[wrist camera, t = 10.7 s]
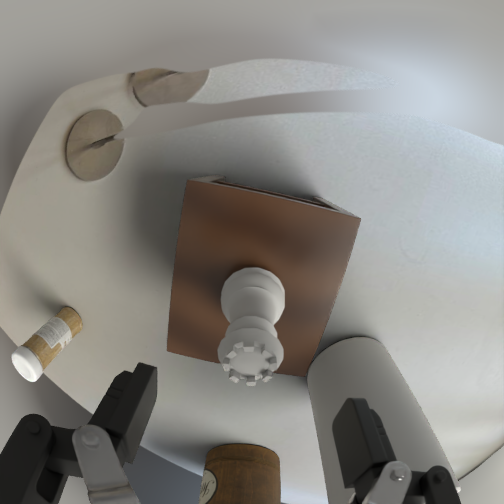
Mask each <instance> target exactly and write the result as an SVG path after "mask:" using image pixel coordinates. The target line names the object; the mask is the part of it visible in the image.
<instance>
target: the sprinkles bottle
mask: <svg viewBox="0 0 504 504" xmlns="http://www.w3.org/2000/svg"><path fill="white" fill-rule="evenodd" d="M81 329H82V321H81V318H80V317H79V315H78V314H77V313H76V312H75V311H74V310H73V309H71V308H69V307H64V308H62V309H61V311H60V312H59V313H58V314H57V315H56V316H55V317H53V318H51V319H50V320H49V321H48V322H47V323H46V324H45V325H43V326H42V327H41V328H40V329H39V330H38V331H37V332H36V333H34V334H33V335H32V337H31V338H30V339H29V340H28V341H27V342H25V343H24V344H23V345H21V346H19V347H18V348H17V349H16V350H15V351H14V352H13V353H12V362H13V364H14V366H15V368H16V369H17V371H18V372H19V373H20V374H21V375H22V376H23V377H24V378H25V379H27V380H28V381H31V382H35V381H36V380H37V379H38V378H39V377H40V376H41V375H42V373H43V370H44V369H45V368H46V367H47V366H48V364H49V363H50V362H51V361H52V360H53V359H54V358H55V357H56V356H57V355H58V354H59V353H60V352H61V351H62V350H63V349H64V347H65V346H66V345H67V344H68V343H69V342H70V341H71V339H72V338H73V337H74V336H75V335H76V334H77V333H79V332H80V331H81Z"/></svg>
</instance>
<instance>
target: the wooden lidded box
mask: <svg viewBox="0 0 504 504" xmlns="http://www.w3.org/2000/svg"><path fill="white" fill-rule="evenodd" d="M360 221H361V218H359V217H357V216H355V215H353V214H352V213H350V212H348V211H346V210H344V209H342V208H340V207H338V206H336V205H334V204H332V203H331V202H329V201H327V200H325V199H322V198H319V197H315V196H313V199H312V201H310V200H306V199H302V198H297V197H293V196H289V195H285V194H280V193H276V192H272V191H267V190H263V189H258V188H253V187H249V186H244V185H239V184H234V183H229V182H225V176H220V175H211V176H205V177H200V178H194V179H188V180H187V183H186V189H185V195H184V201H183V207H182V213H181V220H180V226H179V233H178V240H177V248H176V255H175V263H174V272H173V281H172V290H171V301H170V312H169V324H168V338H167V351H168V352H172V353H176V354H180V355H184V356H188V357H192V358H197V359H201V360H205V361H210V362H215V363H220V361H219V358H218V351H217V350H218V347H219V345H220V342H221V340H222V339H223V338H225V333H226V331H227V328H228V326H229V325H230V322H229V321H228V320H227V318H226V317H225V315H224V313H223V311H222V306H221V296H222V295H221V292H222V289H223V286H224V283H225V281H226V280H227V279H228V278H229V277H230V276H231V275H232V274H233V273H235V272H237V271H239V270H242V269H244V268H261V269H264V270H267V271H270V272H271V273H272V274H274V275H275V276H276V277H277V278H278V279H279V280H280V282H281V284H282V286H283V288H284V290H285V308H284V310H283V312H282V314H281V316H280V318H279V320H278V321H277V322H276V323H275V324H274V328H275V330H276V332H277V339H279V341H280V343H281V345H282V347H283V360H282V362H281V364H280V366H279V367H278V368H277V371H276V370H275V371H273V372H272V373H278V374H285V375H293V376H301V377H305V375H306V373H307V371H308V369H309V366H310V364H311V362H312V359H313V357H314V354H315V352H316V350H317V347H318V345H319V342H320V340H321V337H322V335H323V332H324V330H325V327H326V324H327V322H328V319H329V316H330V314H331V311H332V308H333V306H334V303H335V300H336V297H337V294H338V292H339V289H340V286H341V283H342V280H343V277H344V274H345V271H346V268H347V265H348V261H349V258H350V255H351V252H352V249H353V245H354V242H355V238H356V235H357V232H358V228H359V225H360ZM220 364H221V363H220Z"/></svg>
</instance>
